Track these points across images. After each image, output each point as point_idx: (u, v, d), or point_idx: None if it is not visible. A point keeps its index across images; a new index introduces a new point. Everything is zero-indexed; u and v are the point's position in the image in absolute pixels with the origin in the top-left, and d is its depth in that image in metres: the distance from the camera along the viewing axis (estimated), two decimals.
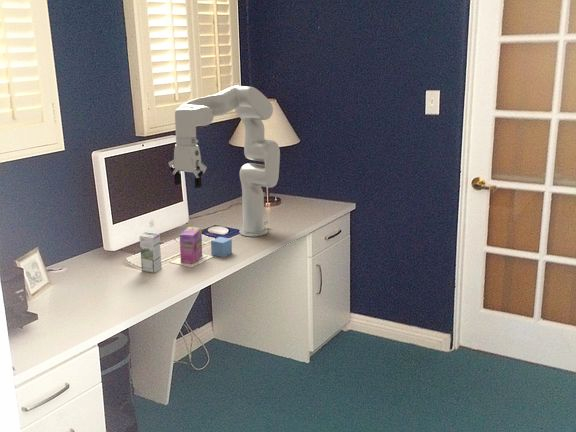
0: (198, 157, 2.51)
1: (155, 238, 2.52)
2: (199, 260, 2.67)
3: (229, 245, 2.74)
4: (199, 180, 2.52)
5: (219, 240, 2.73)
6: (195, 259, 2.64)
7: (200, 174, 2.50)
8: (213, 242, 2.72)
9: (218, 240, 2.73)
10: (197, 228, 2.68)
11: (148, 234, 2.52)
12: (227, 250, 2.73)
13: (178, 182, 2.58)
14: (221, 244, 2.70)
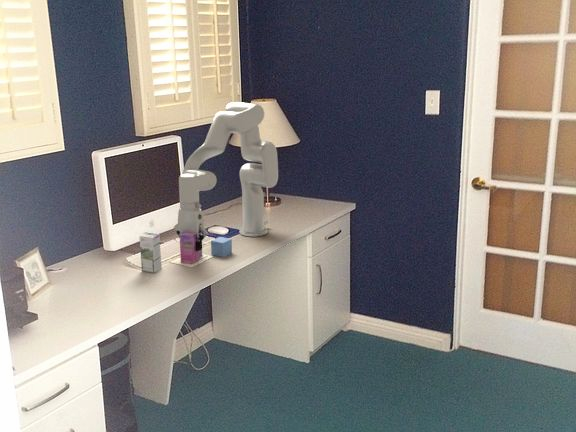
0: (201, 220, 2.62)
1: (155, 238, 2.52)
2: (199, 260, 2.67)
3: (229, 245, 2.74)
4: (200, 243, 2.63)
5: (219, 240, 2.73)
6: (195, 259, 2.64)
7: (201, 238, 2.62)
8: (213, 242, 2.72)
9: (218, 240, 2.73)
10: None
11: (148, 234, 2.52)
12: (227, 250, 2.73)
13: None
14: (221, 244, 2.70)
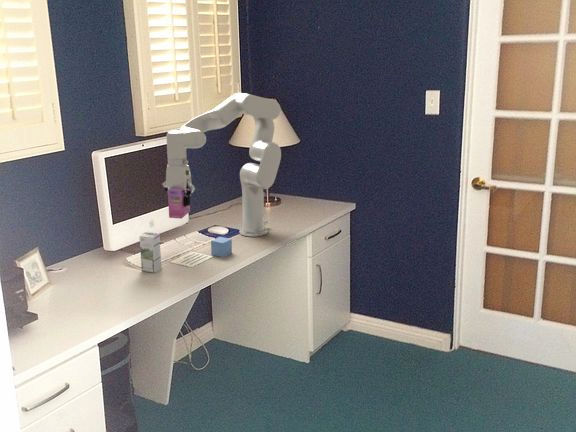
0: (188, 176, 2.70)
1: (155, 238, 2.52)
2: (199, 260, 2.67)
3: (229, 245, 2.74)
4: (188, 199, 2.72)
5: (219, 240, 2.73)
6: (183, 214, 2.72)
7: (188, 193, 2.70)
8: (213, 242, 2.72)
9: (218, 240, 2.73)
10: None
11: (148, 234, 2.52)
12: (227, 250, 2.73)
13: None
14: (221, 244, 2.70)
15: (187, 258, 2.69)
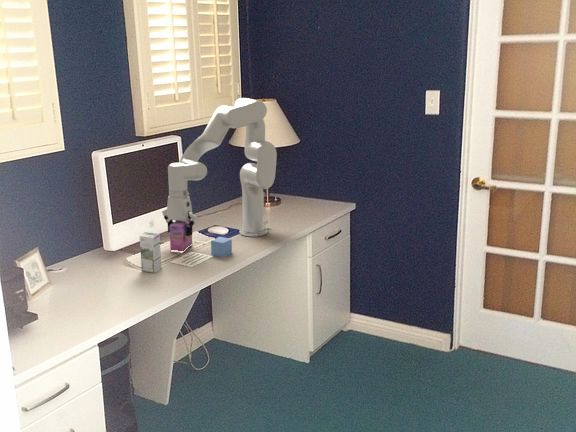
0: (189, 208, 2.74)
1: (155, 238, 2.52)
2: (199, 260, 2.67)
3: (229, 245, 2.74)
4: (190, 229, 2.75)
5: (219, 240, 2.73)
6: (184, 249, 2.77)
7: (191, 223, 2.73)
8: (213, 242, 2.72)
9: (218, 240, 2.73)
10: None
11: (148, 234, 2.52)
12: (227, 250, 2.73)
13: None
14: (221, 244, 2.70)
15: (187, 258, 2.69)
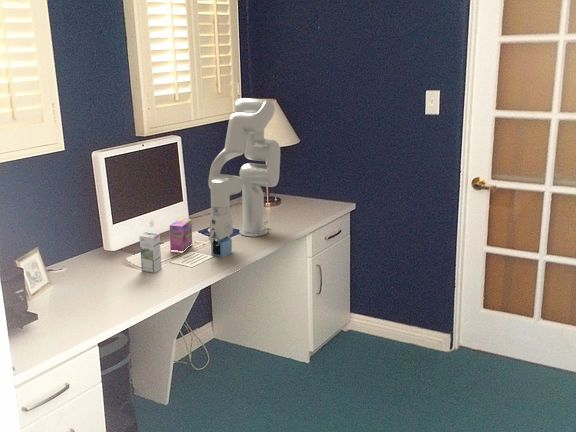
0: (214, 226, 2.67)
1: (155, 238, 2.52)
2: (199, 260, 2.67)
3: (229, 245, 2.74)
4: (214, 248, 2.71)
5: None
6: (184, 249, 2.77)
7: (211, 242, 2.69)
8: None
9: None
10: (187, 219, 2.80)
11: (148, 234, 2.52)
12: (227, 250, 2.73)
13: None
14: (221, 244, 2.70)
15: (187, 258, 2.69)
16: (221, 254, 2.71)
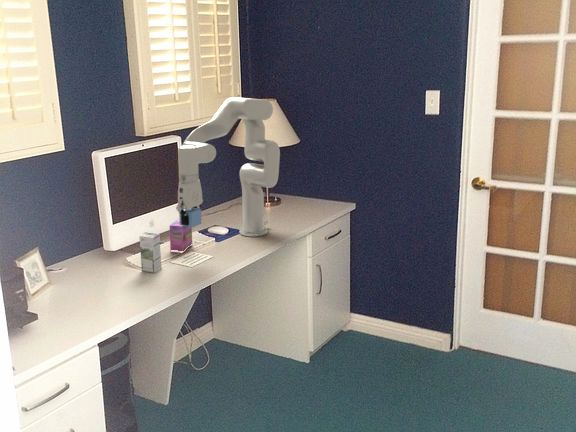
0: (182, 195, 2.56)
1: (155, 238, 2.52)
2: (199, 260, 2.67)
3: (198, 215, 2.63)
4: (182, 218, 2.60)
5: (188, 209, 2.62)
6: (184, 249, 2.77)
7: None
8: None
9: None
10: None
11: (148, 234, 2.52)
12: (196, 221, 2.62)
13: None
14: (189, 214, 2.59)
15: (187, 258, 2.69)
16: (190, 224, 2.60)
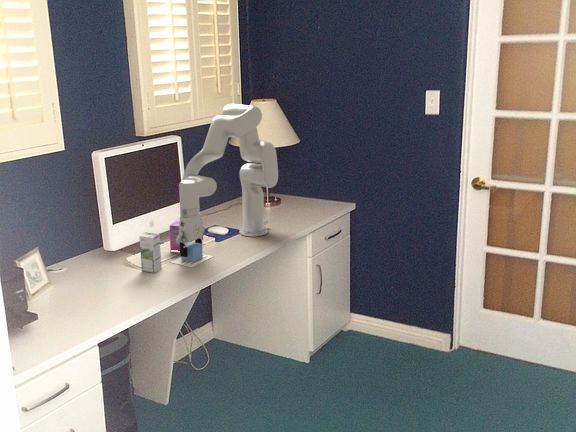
0: (183, 228, 2.60)
1: (155, 238, 2.52)
2: (199, 260, 2.67)
3: (199, 250, 2.67)
4: (181, 250, 2.62)
5: (189, 244, 2.66)
6: None
7: None
8: None
9: (188, 245, 2.66)
10: None
11: (148, 234, 2.52)
12: (197, 256, 2.66)
13: None
14: (191, 249, 2.63)
15: None
16: (191, 259, 2.64)
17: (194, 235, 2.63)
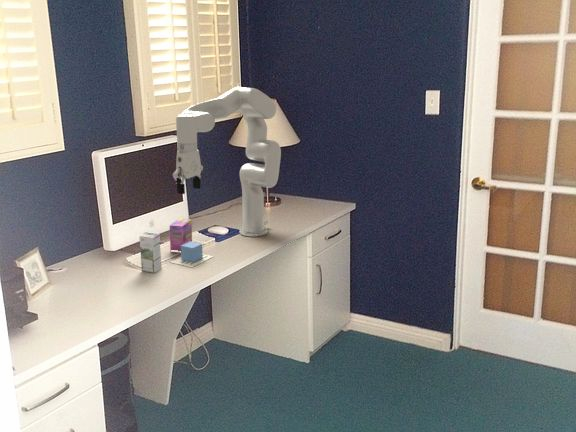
0: (180, 164, 2.52)
1: (155, 238, 2.52)
2: (199, 260, 2.67)
3: (199, 250, 2.67)
4: (178, 186, 2.55)
5: (189, 244, 2.66)
6: None
7: (175, 180, 2.53)
8: (183, 247, 2.65)
9: (188, 245, 2.66)
10: (187, 219, 2.80)
11: (148, 234, 2.52)
12: (197, 256, 2.66)
13: (195, 186, 2.64)
14: (191, 249, 2.63)
15: None
16: (191, 259, 2.64)
17: (192, 171, 2.55)
